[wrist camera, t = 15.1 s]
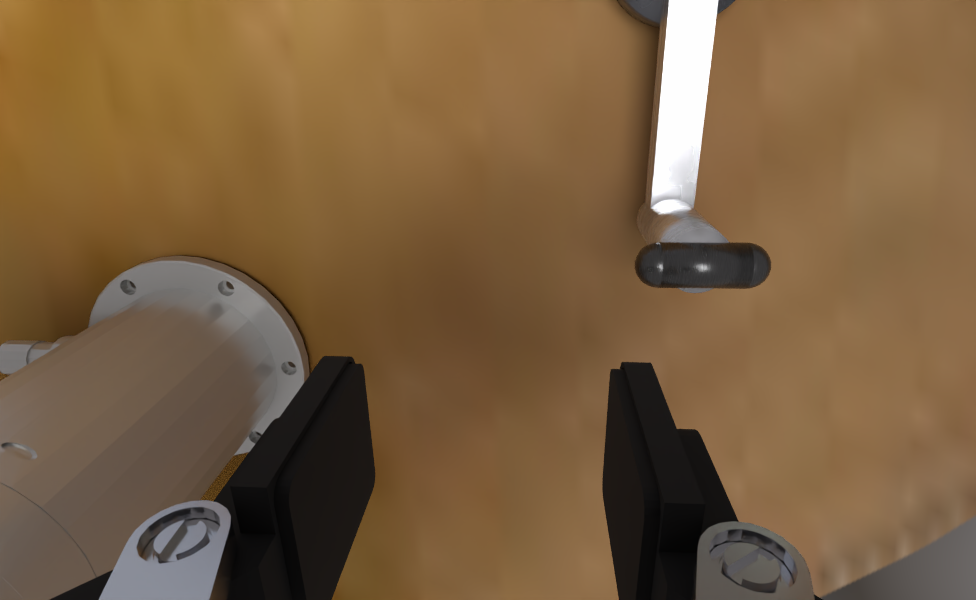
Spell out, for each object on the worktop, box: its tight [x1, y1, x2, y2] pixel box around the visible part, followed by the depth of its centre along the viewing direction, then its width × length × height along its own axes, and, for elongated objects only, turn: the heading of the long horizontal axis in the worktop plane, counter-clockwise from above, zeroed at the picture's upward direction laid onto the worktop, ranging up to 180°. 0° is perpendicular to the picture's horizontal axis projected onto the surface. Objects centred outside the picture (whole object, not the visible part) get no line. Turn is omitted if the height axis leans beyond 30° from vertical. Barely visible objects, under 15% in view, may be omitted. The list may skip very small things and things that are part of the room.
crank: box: [635, 0, 771, 293], centre depth 21 cm, size 14×5×8 cm, turn 1°
